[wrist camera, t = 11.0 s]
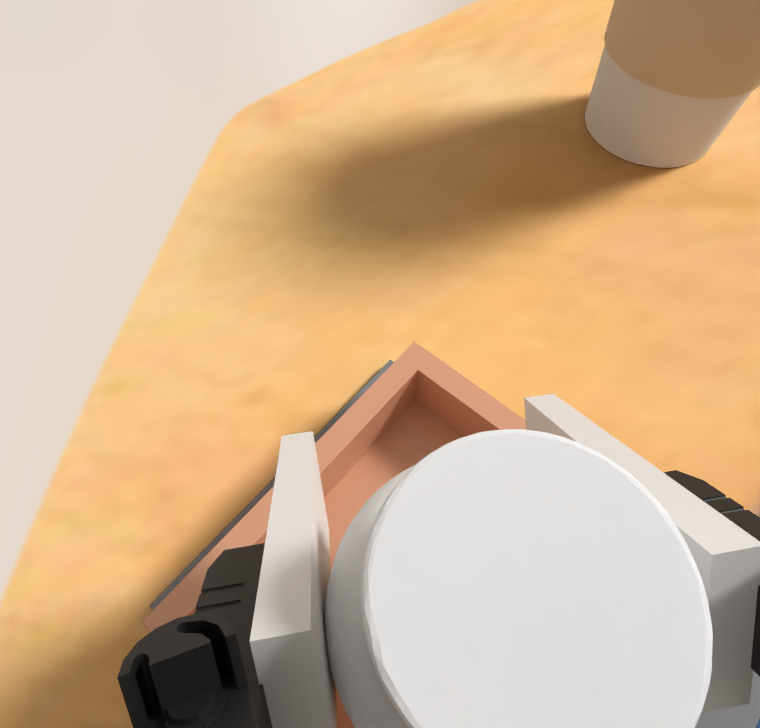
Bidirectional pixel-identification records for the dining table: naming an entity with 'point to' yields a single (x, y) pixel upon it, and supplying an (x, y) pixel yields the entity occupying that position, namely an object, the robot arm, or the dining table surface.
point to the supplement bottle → (517, 595)
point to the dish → (367, 458)
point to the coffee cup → (673, 77)
